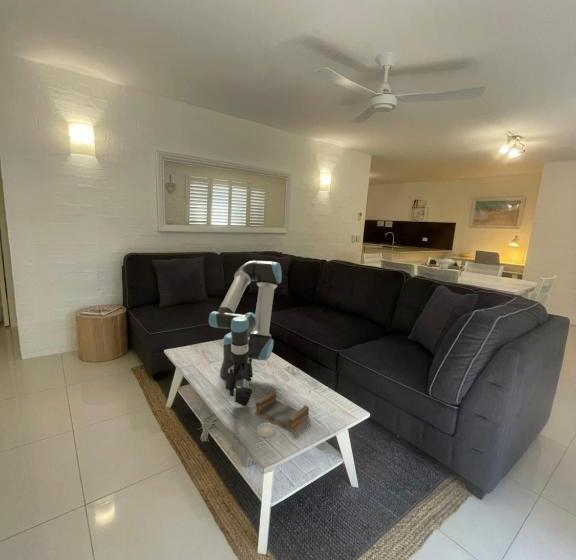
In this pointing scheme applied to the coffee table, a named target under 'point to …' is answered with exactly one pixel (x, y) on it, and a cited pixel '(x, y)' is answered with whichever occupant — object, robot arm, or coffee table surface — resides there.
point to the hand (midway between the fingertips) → (239, 396)
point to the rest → (281, 412)
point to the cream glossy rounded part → (266, 430)
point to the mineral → (243, 395)
